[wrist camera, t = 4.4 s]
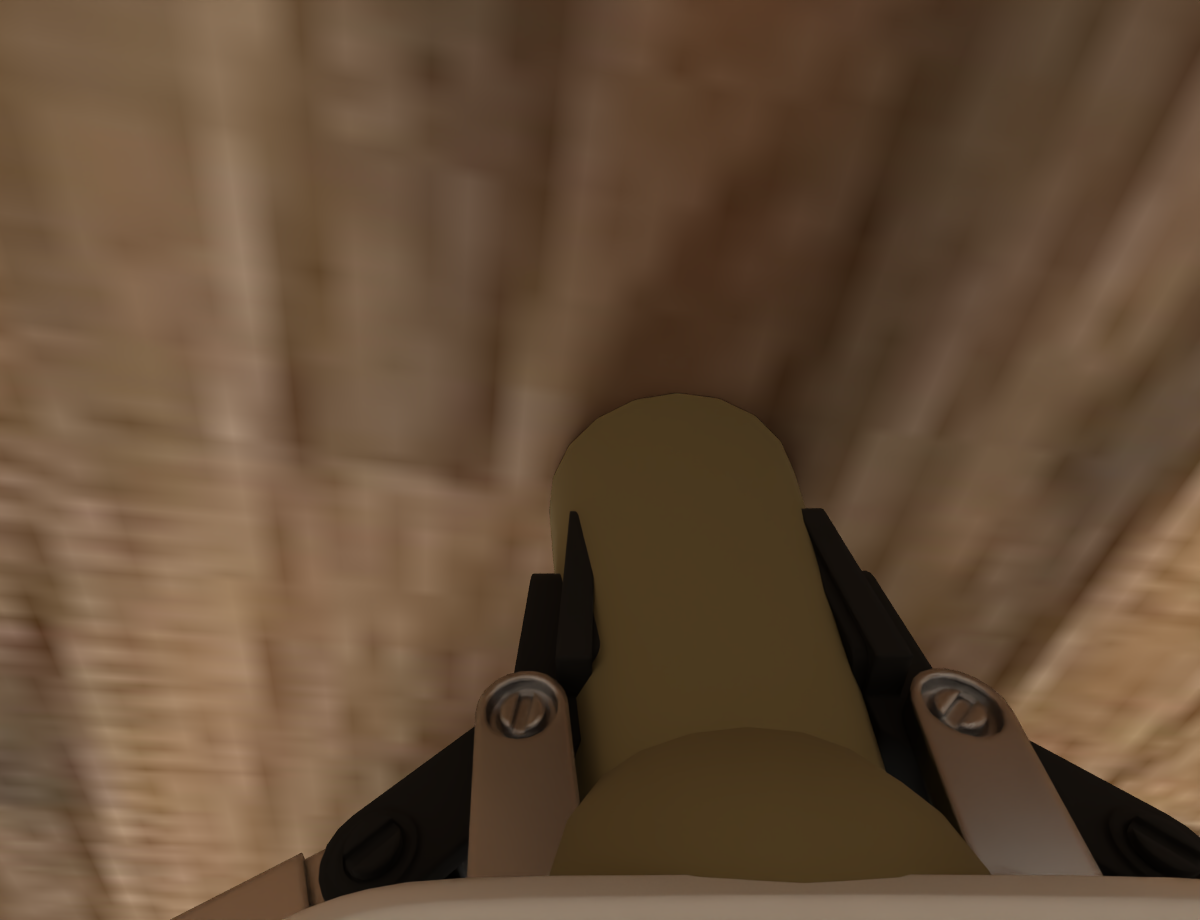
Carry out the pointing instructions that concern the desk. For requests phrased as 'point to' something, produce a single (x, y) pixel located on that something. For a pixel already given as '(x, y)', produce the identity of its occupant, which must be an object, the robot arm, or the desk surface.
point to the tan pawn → (720, 669)
